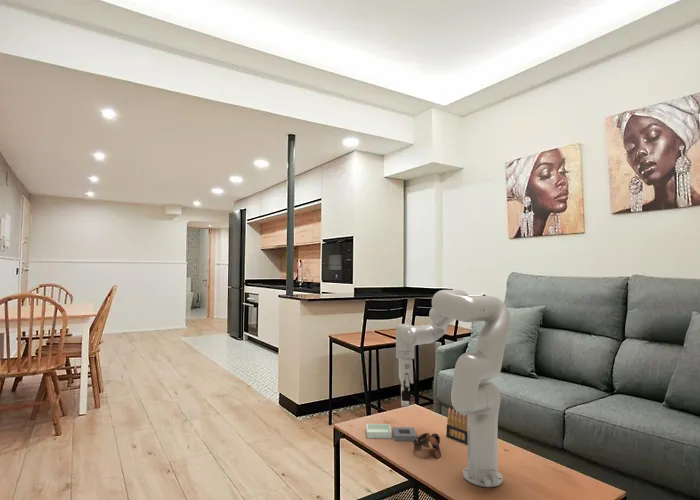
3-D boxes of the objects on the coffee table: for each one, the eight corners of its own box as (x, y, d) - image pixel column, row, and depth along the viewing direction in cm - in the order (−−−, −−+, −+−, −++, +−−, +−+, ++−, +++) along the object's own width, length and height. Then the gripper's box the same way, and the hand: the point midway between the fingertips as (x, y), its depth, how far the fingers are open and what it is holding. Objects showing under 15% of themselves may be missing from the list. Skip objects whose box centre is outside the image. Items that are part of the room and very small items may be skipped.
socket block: (417, 441, 163) (417, 436, 163) (394, 440, 163) (394, 435, 163) (413, 432, 172) (413, 427, 172) (392, 431, 172) (392, 427, 172)
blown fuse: (409, 406, 166) (409, 384, 167) (401, 406, 166) (401, 384, 167) (408, 404, 170) (408, 382, 170) (400, 404, 170) (400, 382, 170)
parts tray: (391, 438, 165) (391, 432, 165) (367, 438, 165) (367, 432, 165) (389, 430, 174) (389, 424, 174) (366, 429, 174) (366, 423, 174)
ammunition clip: (471, 444, 161) (471, 413, 162) (468, 445, 160) (468, 414, 160) (448, 435, 169) (448, 406, 170) (446, 436, 168) (446, 407, 169)
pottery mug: (435, 464, 145) (423, 442, 146) (417, 467, 151) (405, 446, 153) (451, 445, 154) (439, 424, 155) (432, 448, 160) (422, 429, 161)
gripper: (417, 358, 161) (417, 405, 160) (411, 350, 177) (411, 393, 176) (398, 358, 161) (398, 405, 160) (393, 350, 177) (393, 393, 176)
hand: (405, 398), depth 168 cm, fingers closed on blown fuse, 3 cm apart
